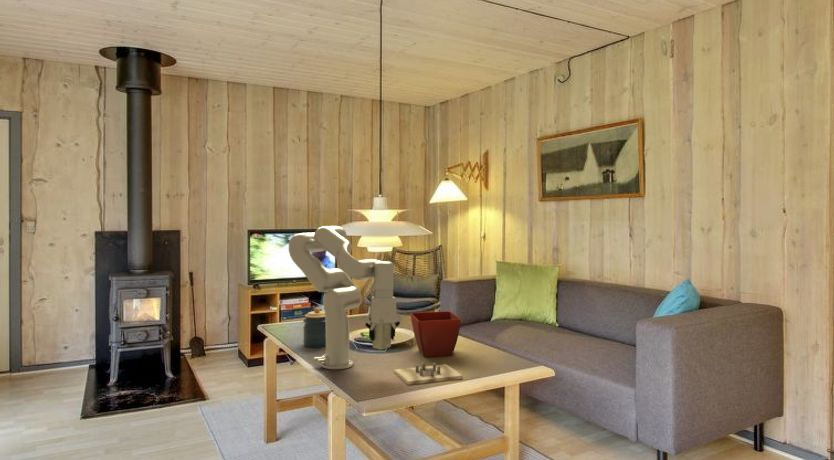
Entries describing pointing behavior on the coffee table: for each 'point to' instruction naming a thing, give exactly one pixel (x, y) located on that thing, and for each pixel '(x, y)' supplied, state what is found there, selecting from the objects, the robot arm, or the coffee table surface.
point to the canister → (315, 329)
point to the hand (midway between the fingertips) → (382, 338)
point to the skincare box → (382, 335)
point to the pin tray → (427, 374)
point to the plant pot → (436, 332)
